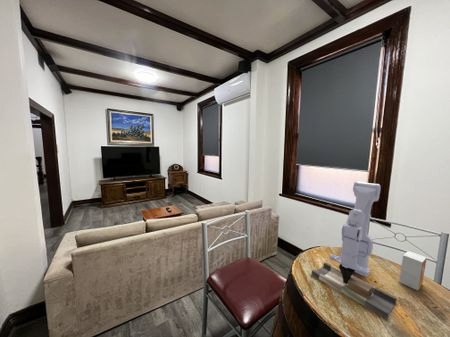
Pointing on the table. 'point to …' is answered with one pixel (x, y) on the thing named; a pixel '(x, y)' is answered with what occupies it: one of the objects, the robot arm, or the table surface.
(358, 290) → the walnut block
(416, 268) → the small box
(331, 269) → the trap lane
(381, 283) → the table surface
